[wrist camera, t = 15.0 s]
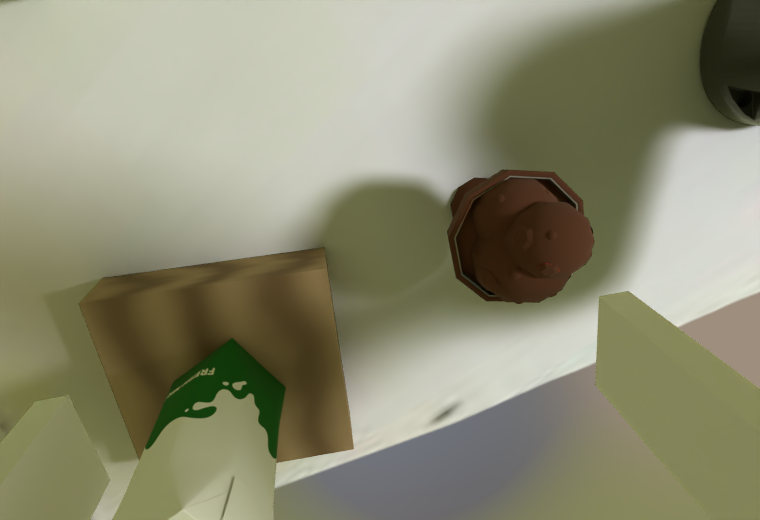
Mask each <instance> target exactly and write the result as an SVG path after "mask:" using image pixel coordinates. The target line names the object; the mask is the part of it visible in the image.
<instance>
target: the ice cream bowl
mask: <svg viewBox="0 0 760 520" xmlns="http://www.w3.org/2000/svg"><path fill="white" fill-rule="evenodd" d="M451 210H452V215H453V220H452V222H451V224H450V227H449V229H448V231H447V234H448V239H449V244H450V249H451V254H452V259H453V265H454V270H455V274H456V278H457V279H458V280H460V281H461V282H462V283H464V284H465V285H466V286H467V287H469V288H470V289H471V290H473V291H474V292H475V293H476V294H478V295H479V296H480V297H482V298H483V299H484V300H485V301H505V302H515V303H517V304H521V303H523V302H535V303H539V302H541V301H543V300H544V299H546V298H548V297H552V296H555V295H556V294H557V293H558V292H559V291H561V290H562V289H563V287H564V285H565V284H566V282H567V280H568V279H569V278H570V277H571V274H572V273H573V272H575V271H576V270H578V269H579V268H581V267H582V266H584V265H585V264H586V263H587V261H588V260H589V259H590V257H591V256H592V251H591V250H592V248H593V245H594V242H595V241H594V237H593V230H592V228H591V226H590V223H589V220H588V218H586V217H585V216H584V211H583V200H582V199H581V198H580V197H579V196H578V195H577V194H576V193H575V192H574V191H573V190H572V189H571V188H570V187H569V186H568V185H567V184H565V183H564V182H563V181H562V180H561V179H560V178H559V177H558V176H557V175H556V174H555V173H554V172H540V171H521V170H501V171H500V172H498V173H497V174H495V175H493V176H492V177H490V178H489V179H488V178H473V179H472V180H470V181H469V182H467V183H465V184H464V185H462V186H461V187H459V188H458V190H457V192H456V194H455V196H454V198H453V201H452V203H451Z"/></svg>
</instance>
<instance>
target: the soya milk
mask: <svg viewBox="0 0 760 520" xmlns="http://www.w3.org/2000/svg"><path fill="white" fill-rule="evenodd" d="M285 391H286V387H285V386H284V385H283V384H282V383H280V382H279V381H278V380H277V379H276V378H275V377H274V376H273V375H272V374H271V373H270V372H269V371H267V370H266V369H265V368H264V367H263V366H262V365H261V364H260V363H259V362H258V361H257V360H256V359H254V358H253V357H252V356H251V355H250V354H249V353H248V352H247V351H246V350H245V349H244V348H243V347H241V346H240V345H239V344H238V343H237V342H236V341H235V340H234V339H233V338H231V339H230V340H229V341H227V342H226V343H225V344H223V345H222V346H221V347H219V348H218V349H217V350H215V351H214V352H213V353H211V354H210V355H209V356H207V357H206V358H205V359H203V360H202V361H201V362H199V363H198V364H197V365H195V366H194V367H193V368H191V369H190V370H189V371H187V372H186V373H185V374H183V375H182V376H181V377H179V378H178V379H177V380H175V381H174V382H173V384H172V386H171V388H170V390H169V393H168V395H167V397H166V399H165V402H164V404H163V406H162V409H161V411H160V413H159V416H158V418H157V420H156V423H155V425H154V427H153V430H152V432H151V435H150V437H149V439H148V442H147V444H146V446H145V449H144V451H143V453H142V456H141V458H140V460H139V463H138V465H137V467H136V470H135V472H134V474H133V477H132V479H131V482H130V484H129V486H128V489H127V491H126V493H125V495H124V497H123V500H122V502H121V504H120V506H119V508H118V510H117V512H116V514H115V516H114V518H113V519H112V520H274V515H273V498H274V486H275V473H276V460H277V448H278V436H279V424H280V419H281V413H282V408H283V402H284V396H285Z"/></svg>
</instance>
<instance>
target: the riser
mask: <svg viewBox="0 0 760 520" xmlns="http://www.w3.org/2000/svg"><path fill="white" fill-rule="evenodd" d="M79 306H80V309H81V311H82V314H83V316H84V319H85V322H86V324H87V327H88V329H89V332H90V334H91V337H92V340H93V342H94V345H95V347H96V350H97V352H98V355H99V358H100V360H101V363H102V365H103V368H104V370H105V373H106V376H107V378H108V381H109V383H110V386H111V388H112V391H113V394H114V396H115V399H116V401H117V404H118V406H119V409H120V412H121V414H122V417H123V419H124V422H125V424H126V427H127V430H128V432H129V435H130V437H131V440H132V442H133V445H134V448H135V450H136V453H137V455H138V458H139V460H140V458H141V456H142V453H143V451H144V449H145V446H146V444H147V442H148V439H149V437H150V435H151V432H152V430H153V427H154V425H155V423H156V420H157V418H158V416H159V413H160V411H161V409H162V406H163V404H164V402H165V399H166V397H167V395H168V393H169V390H170V388H171V386H172V384H173V382H174V381H175V380H177V379H178V378H179V377H181V376H182V375H183V374H185V373H186V372H187V371H189V370H190V369H191V368H193V367H194V366H195V365H197V364H198V363H199V362H201V361H202V360H203V359H205V358H206V357H207V356H209V355H210V354H211V353H213V352H214V351H215V350H217V349H218V348H219V347H221V346H222V345H223V344H225V343H226V342H227V341H229V340H230V339H231V338H233V339H234V340H235V341H236V342H237V343H238V344H239V345H240V346H241V347H243V348H244V349H245V350H246V351H247V352H248V353H249V354H250V355H251V356H252V357H253V358H254V359H256V360H257V361H258V362H259V363H260V364H261V365H262V366H263V367H264V368H265V369H266V370H267V371H269V372H270V373H271V374H272V375H273V376H274V377H275V378H276V379H277V380H278V381H279V382H280V383H282V384H283V385H284V386H285V387H286V391H285V396H284V402H283V408H282V413H281V419H280V424H279V436H278V448H277V460H276V463H278V462H283V461H289V460H295V459H300V458H306V457H312V456H317V455H323V454H329V453H334V452H340V451H346V450H351V449H354V447H353V438H352V429H351V421H350V413H349V406H348V400H347V393H346V387H345V380H344V373H343V367H342V360H341V354H340V347H339V341H338V334H337V328H336V321H335V315H334V308H333V301H332V295H331V288H330V282H329V275H328V269H327V262H326V256H325V249H324V247H323V248H316V249H309V250H301V251H294V252H287V253H280V254H273V255H265V256H258V257H251V258H244V259H237V260H229V261H222V262H215V263H208V264H201V265H193V266H186V267H179V268H172V269H165V270H157V271H150V272H143V273H136V274H129V275H121V276H114V277H107V278H103V279H102V280H101V281H100V282H99V283H98V284H97V285H96V286H95V287H94V288H93V289H92V290H91V291H90V292H89V293H88V294H87V295H86V296H85V297H84V299H83V300H82V301H81V302H80V303H79Z"/></svg>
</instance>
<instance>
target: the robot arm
mask: <svg viewBox="0 0 760 520" xmlns="http://www.w3.org/2000/svg"><path fill="white" fill-rule="evenodd" d="M701 75H702V80H703V85H704V88H705V91H706V93H707V95H708V97H709V99H710V101H711V102H712V104H713V105H714V106H715V107H716V109H717V110H718V111H719V112H721V113H722V114H723V115H724V116H726V117H728V118H729V119H731V120H734V121H736V122H740V123H745V124H751V125H758V126H760V0H718V1H717V3H716V5H715V7H714V9H713V11H712V13H711V16H710V18H709V21H708V24H707V27H706V30H705V33H704V37H703V42H702V49H701ZM595 385H596V386H597V388H598V389H599V390H600V391H601V392H602V393H603V394H604V396H605V397H606V398H607V399H608V400H609V402H610V403H611V404H612V405H613V406H614V408H615V409H616V410H617V411H618V412H619V413H620V414H621V416H622V417H623V418H624V419H625V420H626V422H627V423H628V424H629V425H630V426H631V427H632V429H633V430H634V431H635V432H636V433H637V434H638V436H639V437H640V438H641V439H642V440H643V442H644V443H645V444H646V445H647V446H648V447H649V449H650V450H651V451H652V452H653V453H654V454H655V456H656V457H657V458H658V459H659V460H660V461H661V463H662V464H663V465H664V466H665V467H666V468H667V470H668V471H669V472H670V473H671V474H672V476H673V477H674V478H675V479H676V480H677V481H678V483H679V484H680V485H681V486H682V487H683V488H684V490H685V491H686V492H687V493H688V494H689V495H690V497H691V498H692V499H693V500H694V501H695V502H696V504H697V505H698V506H699V507H700V508H701V509H702V511H703V512H704V513H705V514H706V515H707V517H708V518H709V519H710V520H760V389H759V388H758V387H757V386H755V385H754V384H753V383H751V382H750V381H749V380H747V379H746V378H745V377H743V376H742V375H740V374H739V373H738V372H737V371H735V370H734V369H732V368H731V367H730V366H728V365H727V364H726V363H724V362H723V361H722V360H720V359H719V358H718V357H716V356H715V355H714V354H712V353H711V352H710V351H708V350H707V349H705V348H704V347H703V346H701V345H700V344H699V343H697V342H696V341H695V340H693V339H692V338H691V337H689V336H688V335H687V334H685V333H684V332H683V331H681V330H680V329H679V328H677V327H676V326H675V325H673V324H672V323H671V322H669V321H668V320H667V319H665V318H664V317H662V316H661V315H660V314H658V313H657V312H656V311H654V310H653V309H652V308H650V307H649V306H648V305H646V304H645V303H644V302H642V301H641V300H640V299H638V298H637V297H636V296H634V295H633V294H632V293H630V292H629V291H626V292H621V293H615V294H610V295H605V296H599V311H598V334H597V358H596V381H595ZM109 481H110V478H109V476H108V474H107V472H106V470H105V468H104V466H103V464H102V462H101V460H100V458H99V456H98V454H97V452H96V450H95V448H94V446H93V444H92V442H91V440H90V438H89V436H88V434H87V432H86V430H85V428H84V426H83V424H82V422H81V420H80V418H79V416H78V414H77V412H76V410H75V408H74V405H73V403H72V401H71V399H70V397H69V395H66V396H61V397H55V398H50V399H45V400H39V401H35V402H34V404H33V405H32V406H31V407H30V408H29V409H28V411H27V412H26V413H25V414H24V415H23V417H22V418H21V419H20V420H19V421H18V423H17V424H16V425H15V426H14V427H13V429H12V430H11V431H10V432H9V433H8V434H7V436H6V437H5V438H4V439H3V440H2V442H1V443H0V520H90V519H91V517H92V515H93V513H94V511H95V509H96V507H97V505H98V503H99V501H100V499H101V497H102V495H103V493H104V491H105V489H106V487H107V485H108V483H109Z"/></svg>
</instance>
